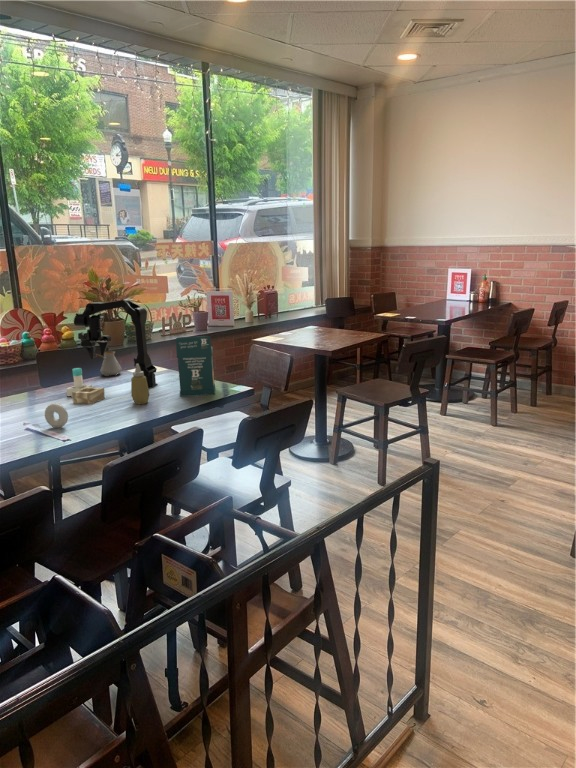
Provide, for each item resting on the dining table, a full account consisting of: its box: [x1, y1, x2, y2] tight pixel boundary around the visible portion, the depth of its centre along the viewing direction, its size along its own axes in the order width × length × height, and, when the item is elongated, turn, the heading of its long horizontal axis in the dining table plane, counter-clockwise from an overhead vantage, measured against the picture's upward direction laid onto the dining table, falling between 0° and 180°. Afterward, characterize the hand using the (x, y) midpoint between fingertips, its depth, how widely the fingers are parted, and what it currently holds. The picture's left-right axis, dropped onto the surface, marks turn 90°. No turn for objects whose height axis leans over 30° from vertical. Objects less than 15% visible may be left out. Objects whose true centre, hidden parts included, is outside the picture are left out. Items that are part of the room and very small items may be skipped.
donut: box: [44, 402, 69, 429], centre depth 222 cm, size 10×4×10 cm, turn 74°
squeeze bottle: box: [130, 364, 150, 405], centre depth 253 cm, size 8×8×18 cm
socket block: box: [72, 386, 106, 405], centre depth 261 cm, size 10×10×5 cm
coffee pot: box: [94, 350, 122, 377], centre depth 308 cm, size 21×12×15 cm, turn 170°
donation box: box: [175, 335, 216, 397], centre depth 269 cm, size 16×16×28 cm
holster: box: [65, 384, 93, 398], centre depth 272 cm, size 8×8×4 cm
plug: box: [71, 367, 84, 389], centre depth 271 cm, size 4×4×13 cm
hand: (97, 357), depth 289 cm, fingers open, 9 cm apart
